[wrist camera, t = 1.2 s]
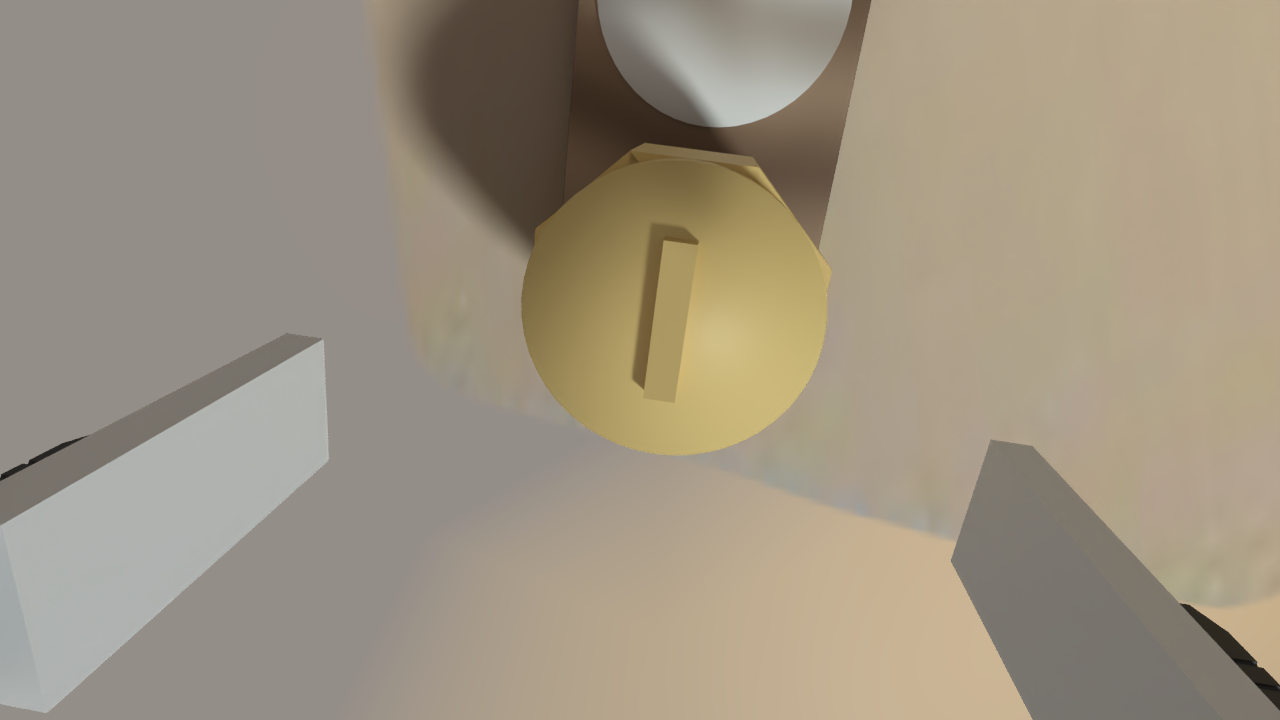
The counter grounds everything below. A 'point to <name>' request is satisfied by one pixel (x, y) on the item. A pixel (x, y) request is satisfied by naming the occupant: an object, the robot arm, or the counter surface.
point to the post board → (718, 87)
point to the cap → (675, 302)
